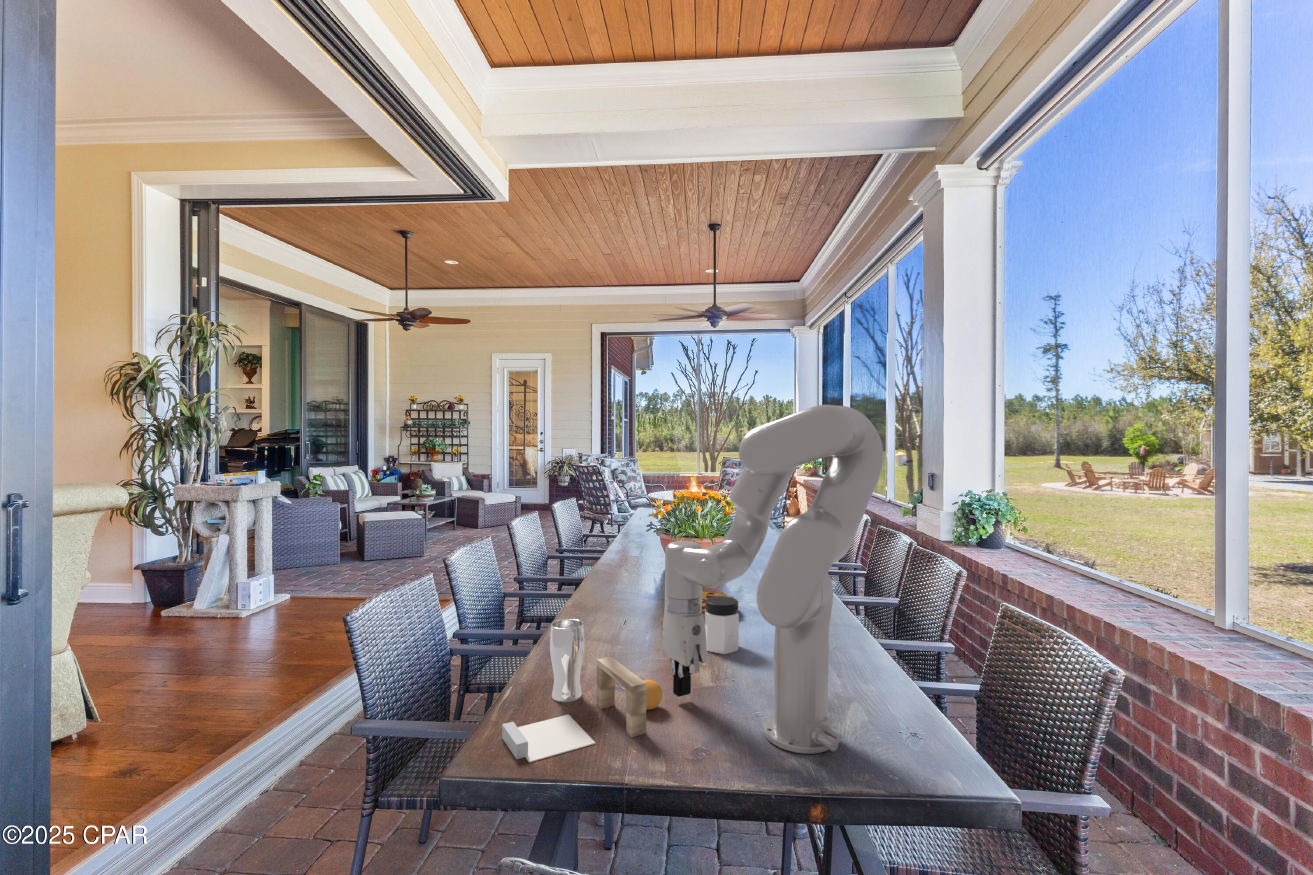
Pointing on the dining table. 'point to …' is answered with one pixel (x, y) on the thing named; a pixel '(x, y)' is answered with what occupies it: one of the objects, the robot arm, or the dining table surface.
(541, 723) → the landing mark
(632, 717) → the bridge
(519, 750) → the stopper wall
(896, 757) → the dining table surface
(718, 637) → the jar
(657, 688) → the ball
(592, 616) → the dining table surface
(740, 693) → the dining table surface
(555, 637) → the beer glass
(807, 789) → the dining table surface
